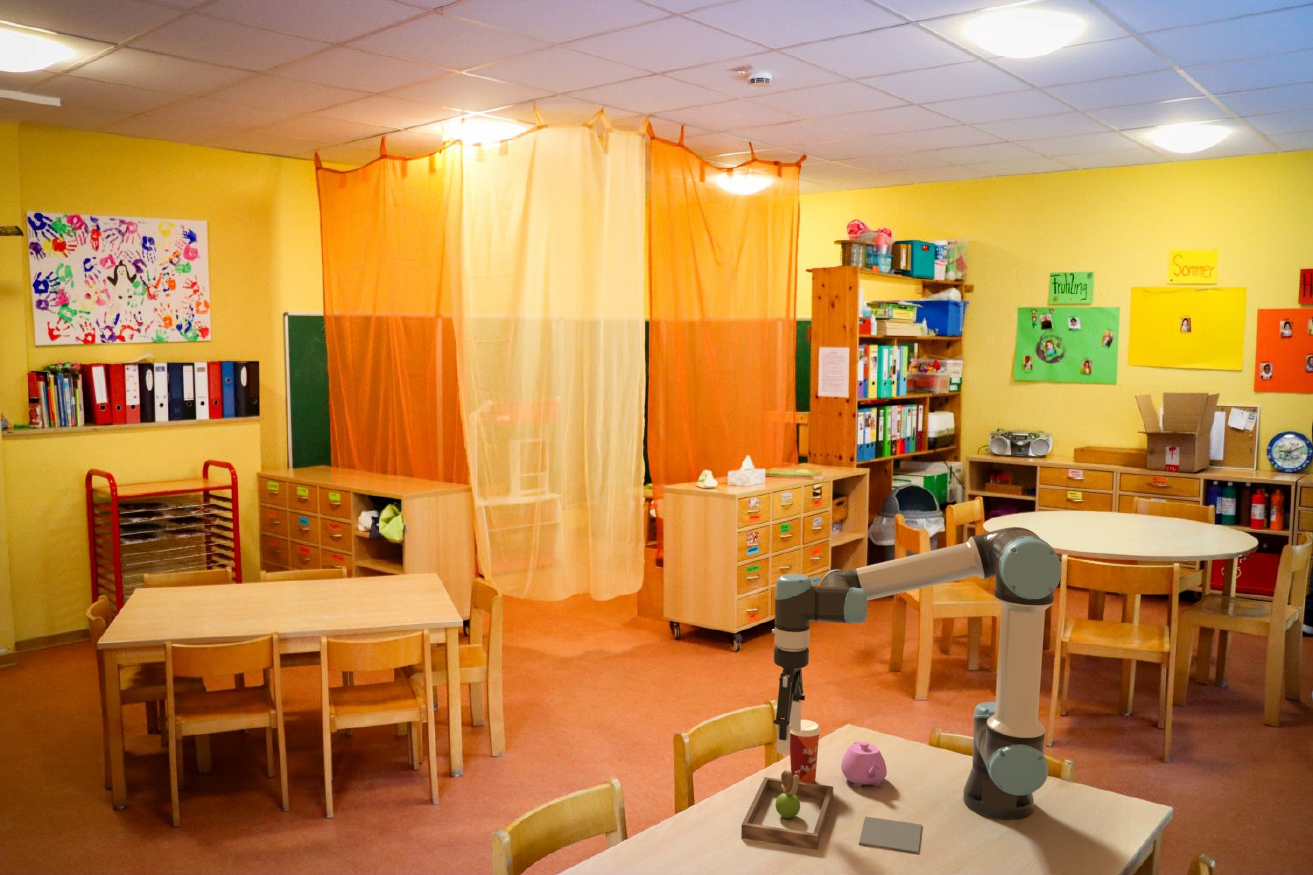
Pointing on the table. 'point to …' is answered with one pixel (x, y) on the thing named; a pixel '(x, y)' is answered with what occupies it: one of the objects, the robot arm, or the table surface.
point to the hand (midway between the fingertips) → (788, 740)
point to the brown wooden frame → (787, 835)
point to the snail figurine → (788, 795)
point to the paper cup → (804, 751)
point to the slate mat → (890, 834)
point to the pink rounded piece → (863, 764)
